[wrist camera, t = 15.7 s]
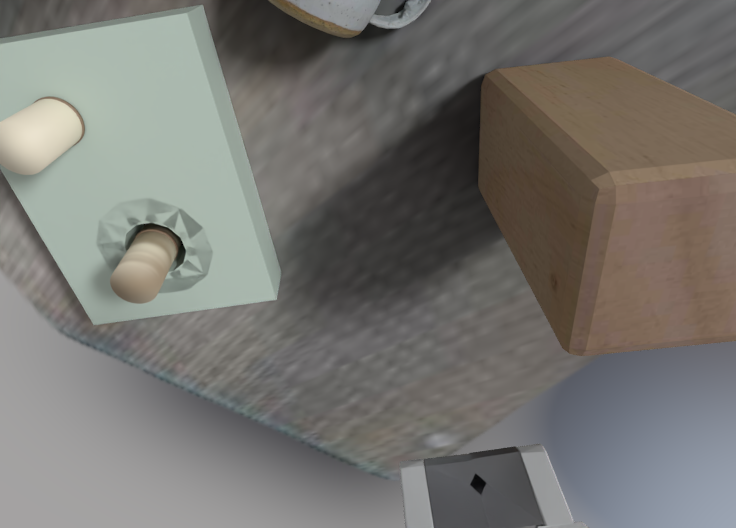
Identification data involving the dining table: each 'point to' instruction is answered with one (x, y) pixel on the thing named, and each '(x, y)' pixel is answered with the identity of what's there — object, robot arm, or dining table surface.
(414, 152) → the dining table surface
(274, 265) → the board
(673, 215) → the wooden block
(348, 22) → the ceramic mug
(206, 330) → the dining table surface
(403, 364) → the dining table surface
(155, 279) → the peg
